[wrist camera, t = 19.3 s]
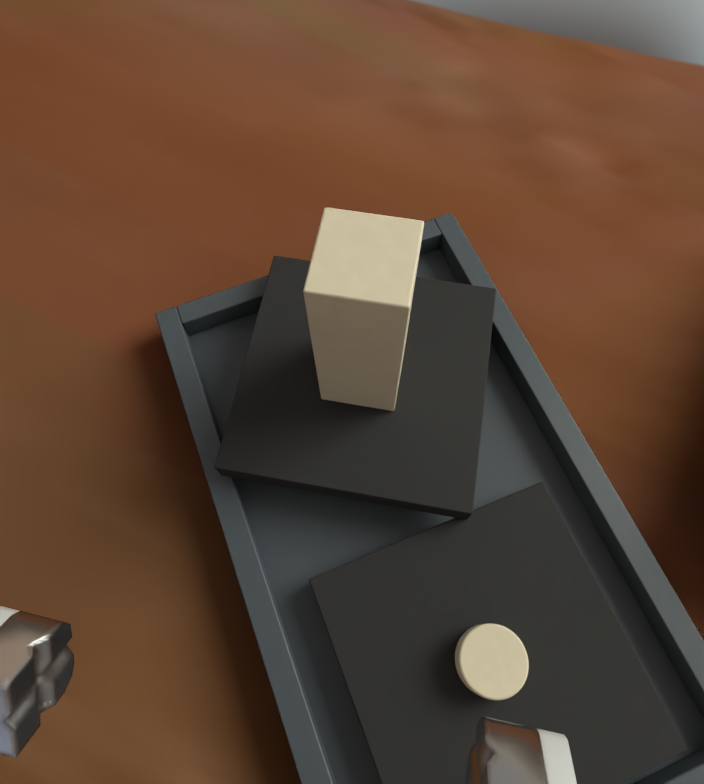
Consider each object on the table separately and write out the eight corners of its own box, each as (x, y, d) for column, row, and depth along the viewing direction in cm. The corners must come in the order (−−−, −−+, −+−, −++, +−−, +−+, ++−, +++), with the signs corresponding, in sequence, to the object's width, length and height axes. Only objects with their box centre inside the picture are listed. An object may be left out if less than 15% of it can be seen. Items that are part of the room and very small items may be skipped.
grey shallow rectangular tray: (363, 955, 19) (363, 984, 17) (166, 331, 28) (154, 313, 26) (747, 756, 21) (778, 766, 19) (447, 233, 30) (452, 211, 28)
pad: (415, 873, 19) (421, 901, 17) (310, 581, 23) (306, 576, 21) (671, 743, 21) (704, 756, 19) (534, 487, 24) (550, 474, 22)
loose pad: (467, 520, 23) (531, 452, 14) (220, 475, 23) (140, 385, 15) (490, 302, 26) (552, 145, 18) (277, 270, 27) (239, 106, 19)
